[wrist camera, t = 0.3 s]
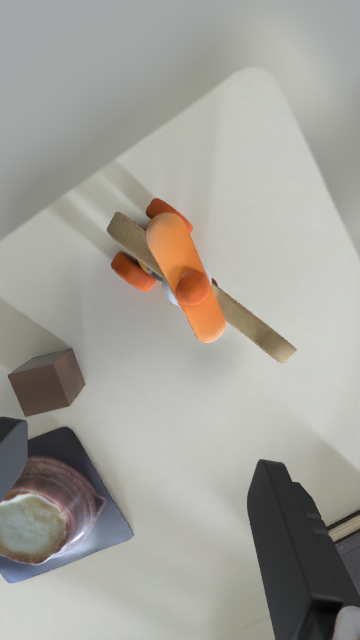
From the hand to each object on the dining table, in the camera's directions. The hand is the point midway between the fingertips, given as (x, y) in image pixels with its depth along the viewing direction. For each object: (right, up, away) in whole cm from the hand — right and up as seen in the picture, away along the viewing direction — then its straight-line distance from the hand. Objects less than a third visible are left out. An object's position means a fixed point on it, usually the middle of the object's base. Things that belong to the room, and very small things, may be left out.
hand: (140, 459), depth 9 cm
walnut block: (-13, -2, +23) cm, 27 cm away
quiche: (-19, -22, +28) cm, 40 cm away
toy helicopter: (+3, +9, +21) cm, 23 cm away
